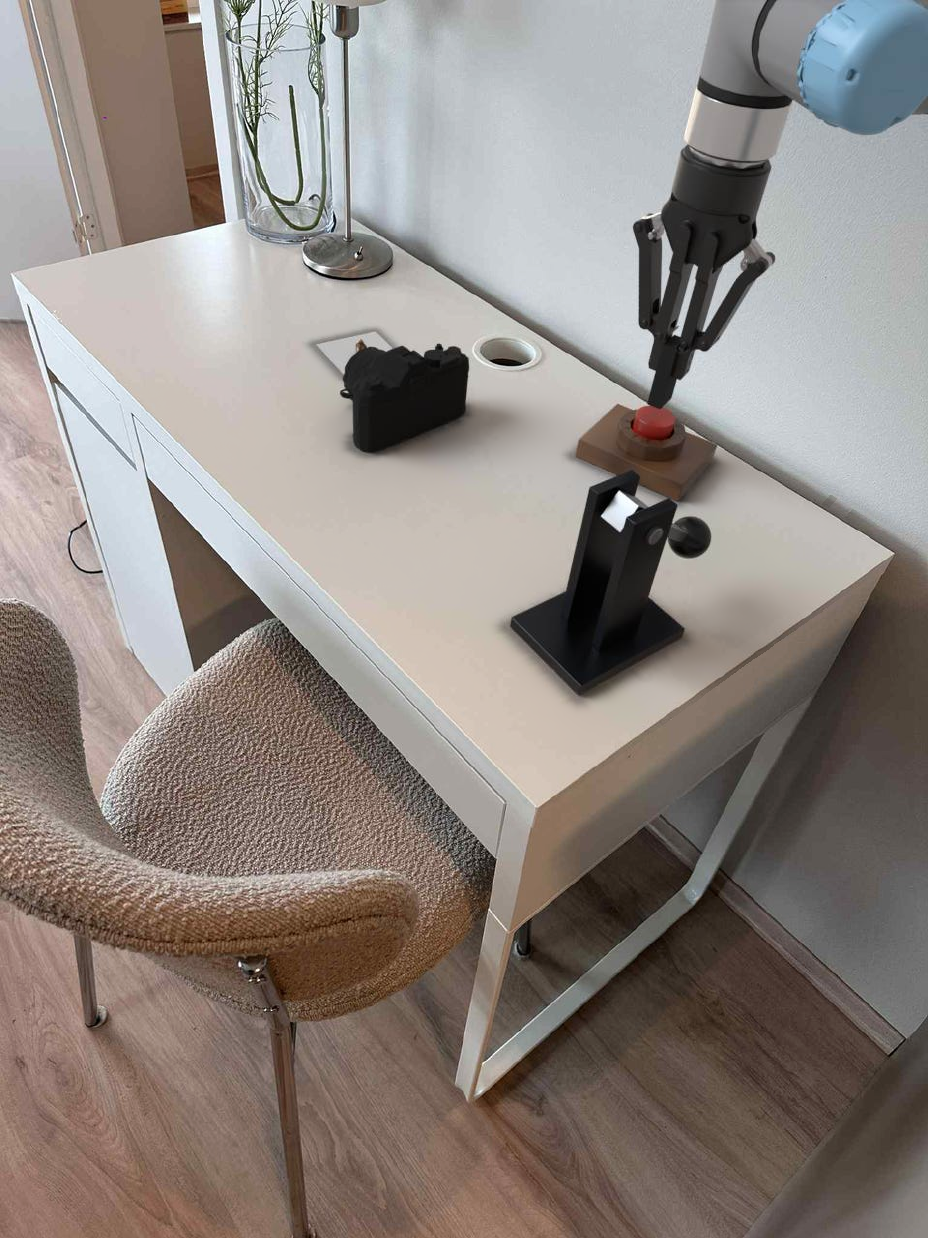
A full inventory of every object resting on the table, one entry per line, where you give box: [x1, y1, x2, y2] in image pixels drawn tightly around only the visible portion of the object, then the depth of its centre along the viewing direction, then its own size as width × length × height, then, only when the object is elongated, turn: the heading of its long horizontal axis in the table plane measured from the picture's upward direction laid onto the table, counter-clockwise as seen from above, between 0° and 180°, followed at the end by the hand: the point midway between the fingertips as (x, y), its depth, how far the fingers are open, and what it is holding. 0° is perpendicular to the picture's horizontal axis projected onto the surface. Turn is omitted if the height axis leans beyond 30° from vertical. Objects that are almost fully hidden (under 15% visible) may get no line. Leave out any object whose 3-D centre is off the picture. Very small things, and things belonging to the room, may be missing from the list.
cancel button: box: [633, 405, 676, 441], centre depth 91 cm, size 4×4×2 cm
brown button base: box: [575, 403, 718, 502], centre depth 93 cm, size 12×9×4 cm
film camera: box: [339, 343, 470, 453], centre depth 93 cm, size 15×10×9 cm, turn 130°
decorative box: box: [315, 331, 394, 376], centre depth 104 cm, size 8×8×2 cm
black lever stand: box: [509, 470, 686, 696], centre depth 71 cm, size 12×9×15 cm
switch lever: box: [601, 490, 712, 560], centre depth 71 cm, size 14×4×4 cm
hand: (659, 400), depth 90 cm, fingers closed
